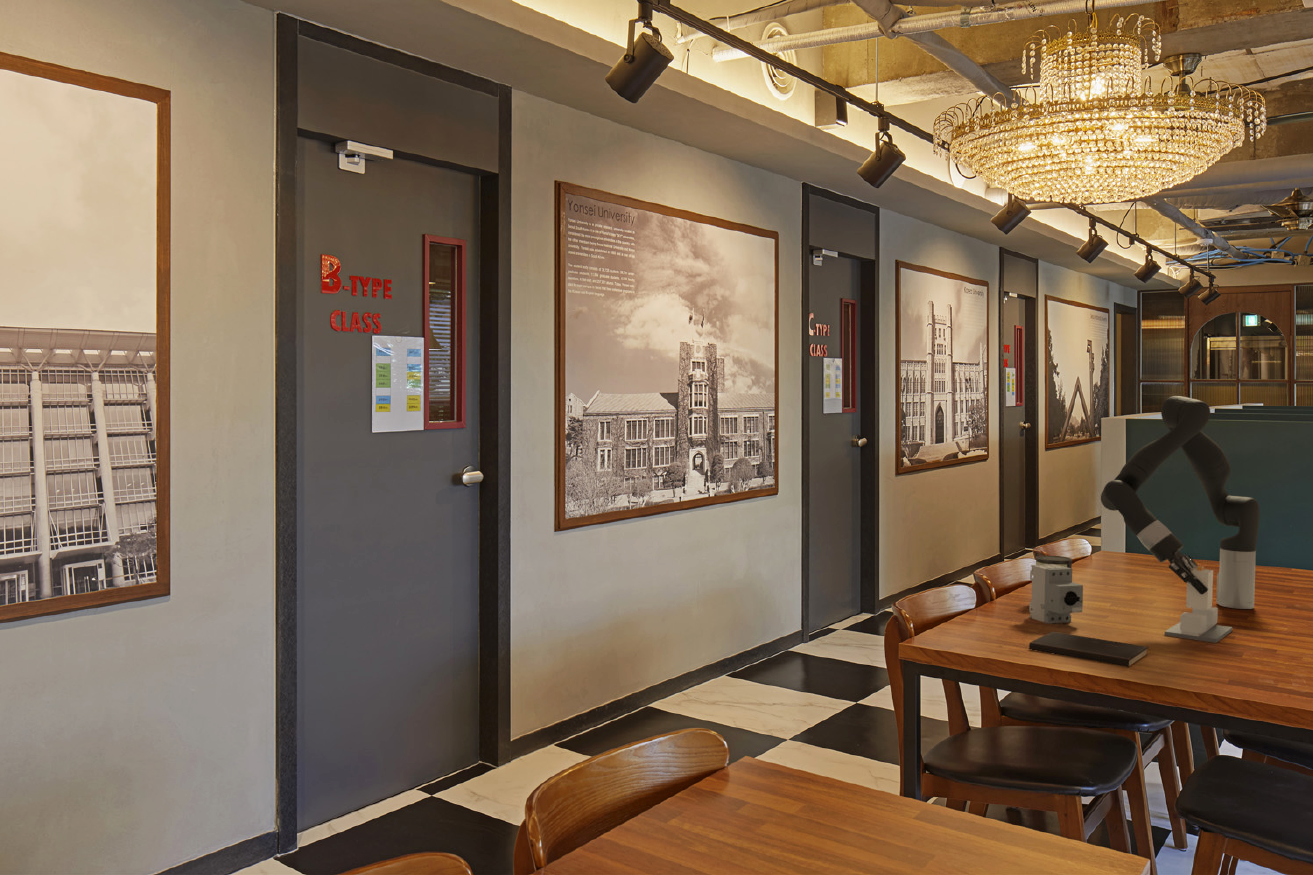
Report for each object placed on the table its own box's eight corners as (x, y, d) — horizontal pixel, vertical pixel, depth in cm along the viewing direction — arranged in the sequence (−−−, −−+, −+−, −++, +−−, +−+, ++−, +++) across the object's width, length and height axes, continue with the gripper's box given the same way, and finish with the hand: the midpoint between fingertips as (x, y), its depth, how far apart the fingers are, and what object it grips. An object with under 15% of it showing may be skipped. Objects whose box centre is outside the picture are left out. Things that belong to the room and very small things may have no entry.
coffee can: (1053, 599, 299) (1054, 554, 298) (1078, 606, 289) (1080, 559, 289) (1027, 601, 295) (1028, 556, 294) (1052, 608, 285) (1053, 561, 285)
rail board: (1182, 623, 267) (1183, 602, 266) (1232, 630, 259) (1232, 609, 258) (1164, 635, 253) (1165, 613, 253) (1216, 643, 245) (1216, 620, 245)
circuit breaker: (1062, 628, 260) (1064, 573, 259) (1029, 617, 274) (1030, 564, 273) (1086, 627, 262) (1087, 572, 261) (1051, 615, 276) (1052, 563, 275)
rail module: (1191, 604, 259) (1192, 564, 259) (1211, 607, 256) (1213, 566, 255) (1186, 607, 256) (1187, 566, 255) (1207, 610, 252) (1208, 568, 252)
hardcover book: (1051, 640, 250) (1052, 631, 249) (1148, 656, 234) (1148, 646, 234) (1028, 651, 238) (1028, 642, 237) (1128, 669, 222) (1128, 659, 222)
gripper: (1163, 534, 255) (1212, 586, 247) (1177, 529, 265) (1225, 579, 258) (1141, 552, 258) (1189, 603, 251) (1156, 546, 269) (1203, 595, 261)
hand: (1207, 590), depth 254 cm, fingers closed on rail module, 5 cm apart
